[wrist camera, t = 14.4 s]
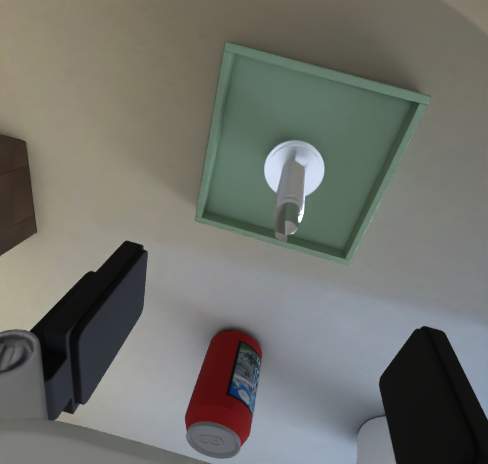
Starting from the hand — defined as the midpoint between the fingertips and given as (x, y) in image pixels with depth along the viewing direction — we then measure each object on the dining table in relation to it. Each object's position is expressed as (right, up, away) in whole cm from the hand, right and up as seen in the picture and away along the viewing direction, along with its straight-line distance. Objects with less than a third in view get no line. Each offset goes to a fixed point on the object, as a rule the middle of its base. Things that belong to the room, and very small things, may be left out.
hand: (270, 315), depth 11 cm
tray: (+4, +9, +18) cm, 20 cm away
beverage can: (-2, -12, +30) cm, 33 cm away
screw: (+4, +9, +17) cm, 20 cm away
